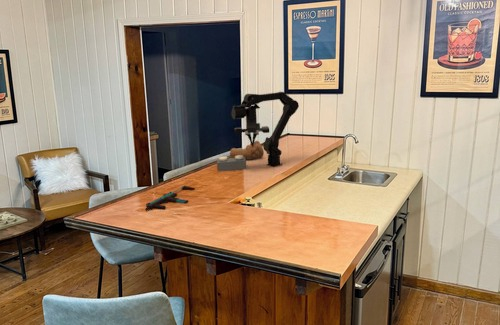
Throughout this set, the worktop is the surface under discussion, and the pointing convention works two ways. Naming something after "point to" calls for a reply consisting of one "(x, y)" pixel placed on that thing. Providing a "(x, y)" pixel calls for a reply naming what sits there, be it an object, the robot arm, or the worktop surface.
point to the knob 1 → (223, 158)
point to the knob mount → (231, 164)
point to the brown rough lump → (249, 151)
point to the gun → (167, 199)
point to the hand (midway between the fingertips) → (252, 145)
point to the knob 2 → (239, 157)
